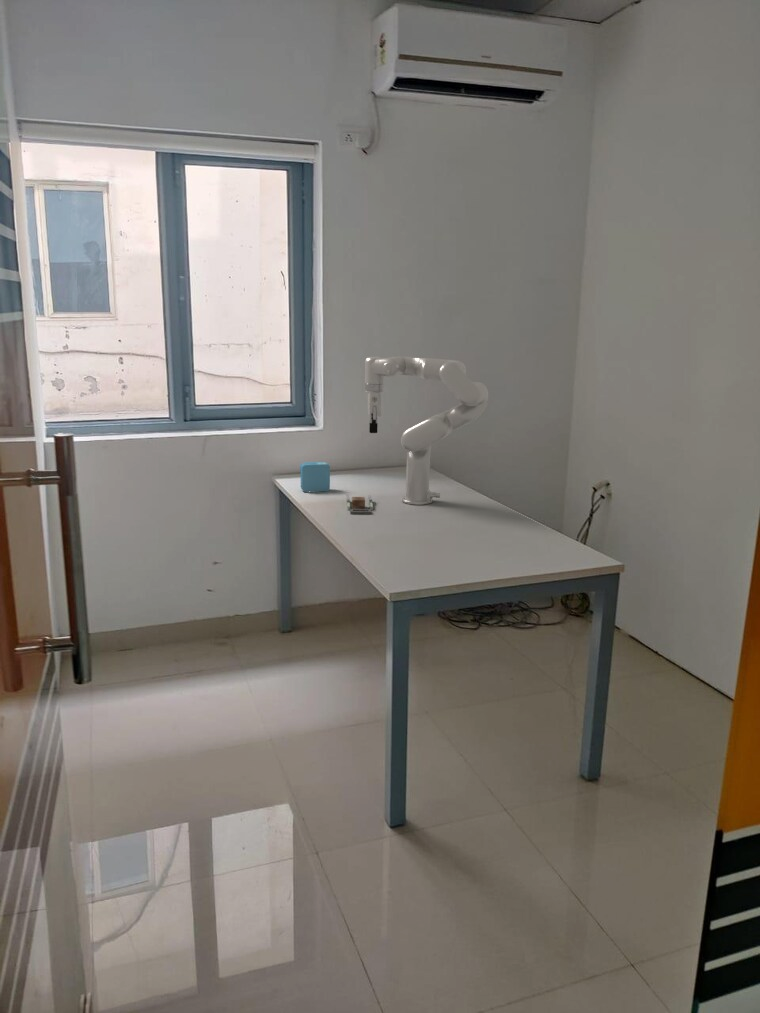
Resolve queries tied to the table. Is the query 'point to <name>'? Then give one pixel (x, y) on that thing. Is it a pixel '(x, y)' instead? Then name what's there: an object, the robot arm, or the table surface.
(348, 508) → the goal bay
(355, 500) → the walnut block
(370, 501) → the walled lane
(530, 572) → the table surface
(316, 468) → the data package
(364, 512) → the tray
